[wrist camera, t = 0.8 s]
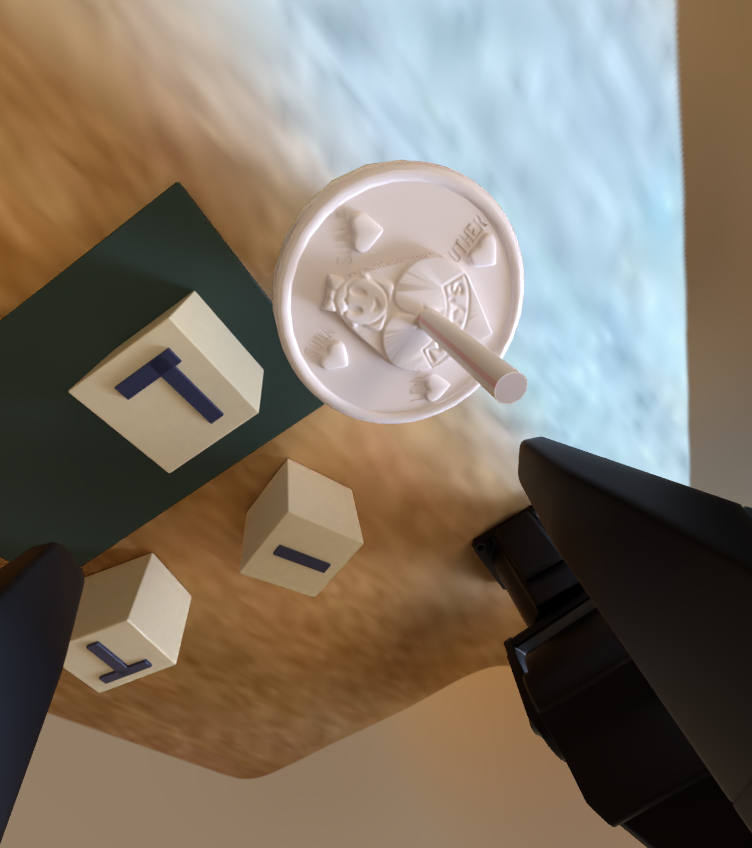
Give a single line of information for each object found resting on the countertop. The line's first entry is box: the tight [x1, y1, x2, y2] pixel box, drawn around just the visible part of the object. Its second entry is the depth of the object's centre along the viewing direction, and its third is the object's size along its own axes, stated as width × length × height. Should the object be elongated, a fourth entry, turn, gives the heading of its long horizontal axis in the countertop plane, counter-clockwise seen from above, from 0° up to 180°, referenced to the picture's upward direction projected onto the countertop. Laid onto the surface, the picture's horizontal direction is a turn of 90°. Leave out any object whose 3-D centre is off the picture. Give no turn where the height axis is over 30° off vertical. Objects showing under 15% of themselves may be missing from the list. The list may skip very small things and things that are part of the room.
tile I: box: [239, 459, 364, 598], centre depth 22 cm, size 4×4×5 cm
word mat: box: [0, 182, 325, 567], centre depth 19 cm, size 11×20×1 cm, turn 122°
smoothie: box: [273, 160, 527, 424], centre depth 12 cm, size 6×6×14 cm
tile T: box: [63, 553, 191, 693], centre depth 23 cm, size 4×4×5 cm
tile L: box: [68, 291, 264, 473], centre depth 16 cm, size 4×4×5 cm
